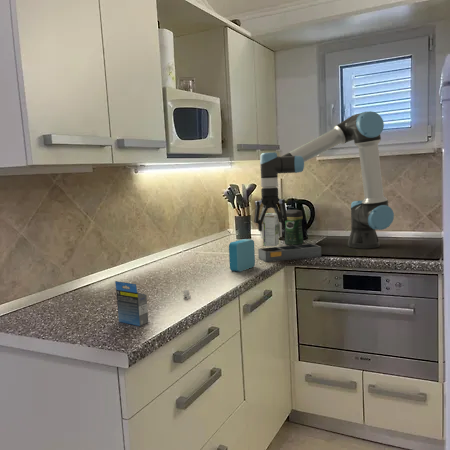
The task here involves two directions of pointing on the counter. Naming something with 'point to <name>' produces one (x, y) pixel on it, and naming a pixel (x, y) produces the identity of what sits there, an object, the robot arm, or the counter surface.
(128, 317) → the label tape cartridge
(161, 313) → the counter surface
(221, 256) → the counter surface
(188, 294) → the adhesive hook
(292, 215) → the coffee jar
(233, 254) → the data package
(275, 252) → the rack
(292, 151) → the robot arm
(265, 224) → the syrup box
